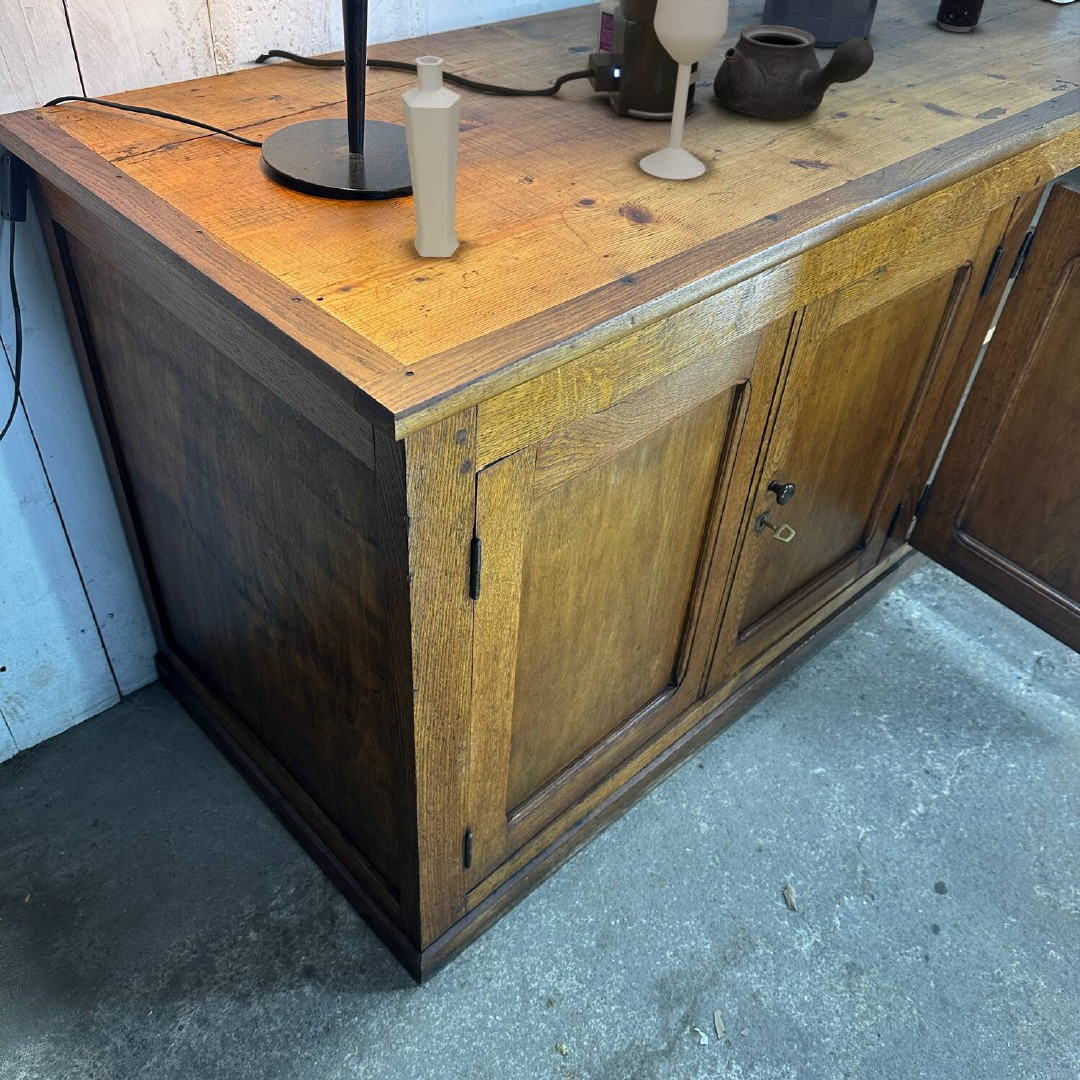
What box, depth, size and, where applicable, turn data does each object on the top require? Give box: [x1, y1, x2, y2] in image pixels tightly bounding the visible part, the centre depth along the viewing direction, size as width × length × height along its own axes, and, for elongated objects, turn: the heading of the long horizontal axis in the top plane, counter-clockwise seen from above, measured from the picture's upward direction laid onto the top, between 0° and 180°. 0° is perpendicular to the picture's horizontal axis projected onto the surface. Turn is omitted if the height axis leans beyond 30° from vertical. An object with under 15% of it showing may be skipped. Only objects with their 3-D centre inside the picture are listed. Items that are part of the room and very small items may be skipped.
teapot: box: [713, 24, 875, 119], centre depth 108 cm, size 19×15×10 cm
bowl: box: [760, 0, 879, 48], centre depth 134 cm, size 15×15×6 cm
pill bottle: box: [595, 0, 620, 53], centre depth 119 cm, size 5×5×10 cm
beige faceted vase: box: [400, 55, 462, 258], centre depth 79 cm, size 5×4×15 cm
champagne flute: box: [638, 0, 730, 180], centre depth 91 cm, size 7×7×24 cm
